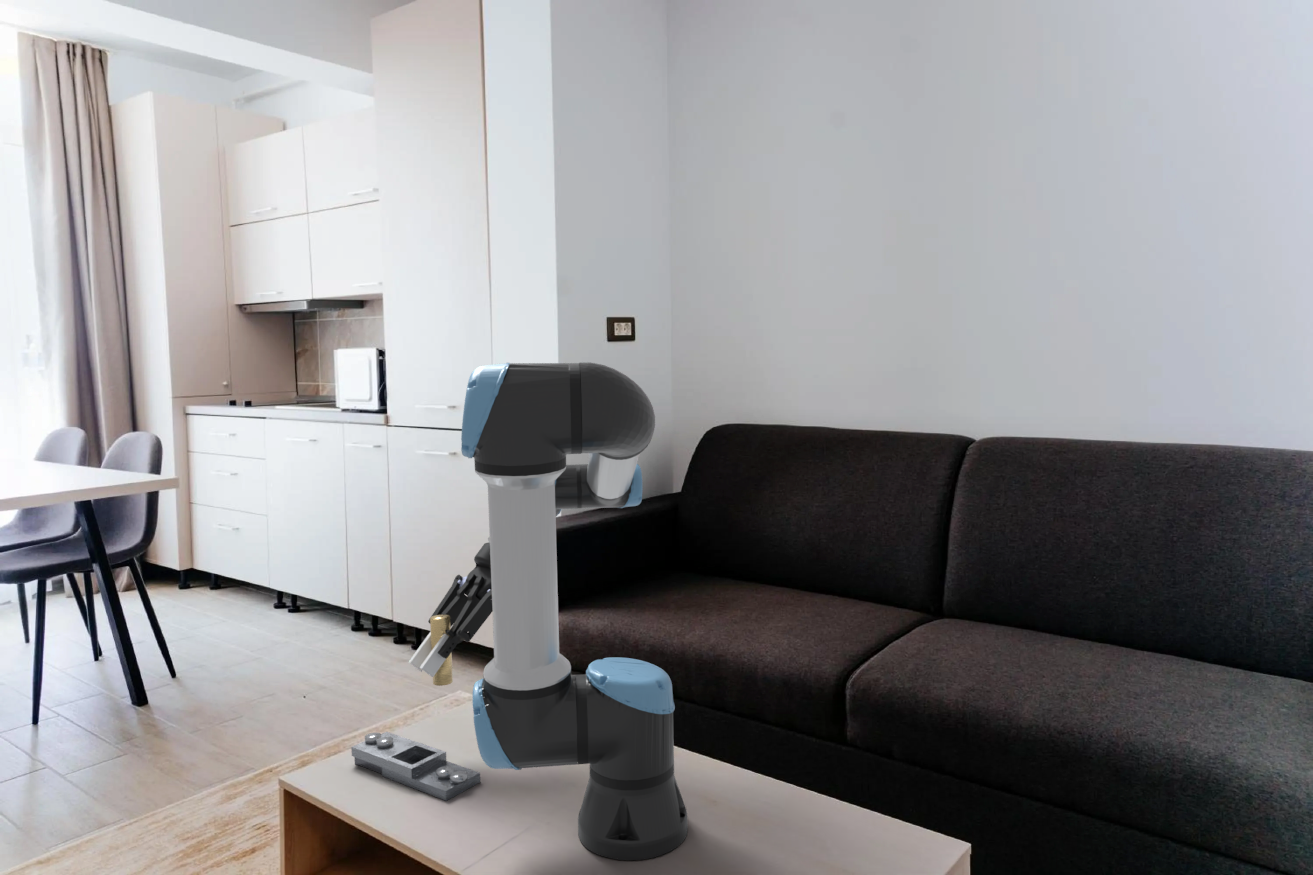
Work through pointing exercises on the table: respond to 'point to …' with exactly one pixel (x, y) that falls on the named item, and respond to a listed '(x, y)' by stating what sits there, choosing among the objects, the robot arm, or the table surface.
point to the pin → (437, 630)
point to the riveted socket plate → (414, 765)
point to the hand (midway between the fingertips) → (420, 669)
